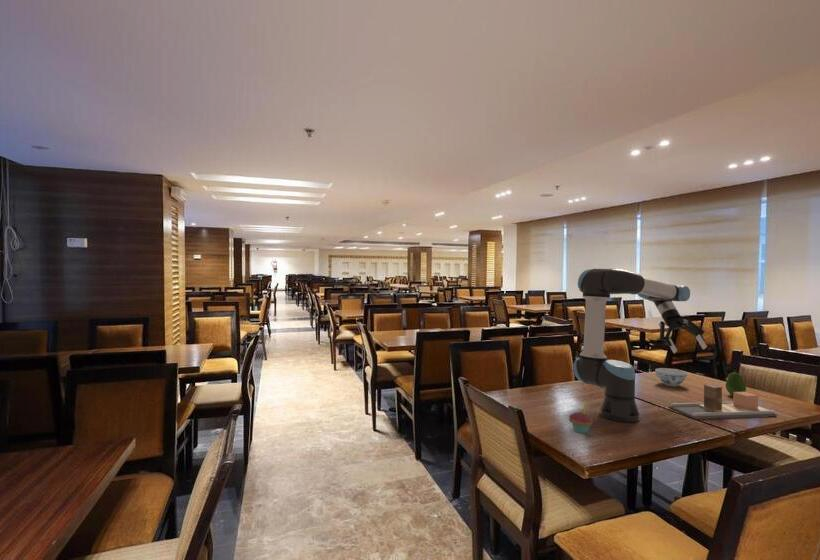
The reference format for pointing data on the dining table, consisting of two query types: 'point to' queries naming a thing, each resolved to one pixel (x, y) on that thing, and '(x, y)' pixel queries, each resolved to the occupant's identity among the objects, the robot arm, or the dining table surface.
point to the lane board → (701, 413)
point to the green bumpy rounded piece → (735, 383)
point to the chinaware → (671, 376)
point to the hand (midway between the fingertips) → (690, 350)
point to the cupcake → (581, 421)
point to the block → (745, 400)
